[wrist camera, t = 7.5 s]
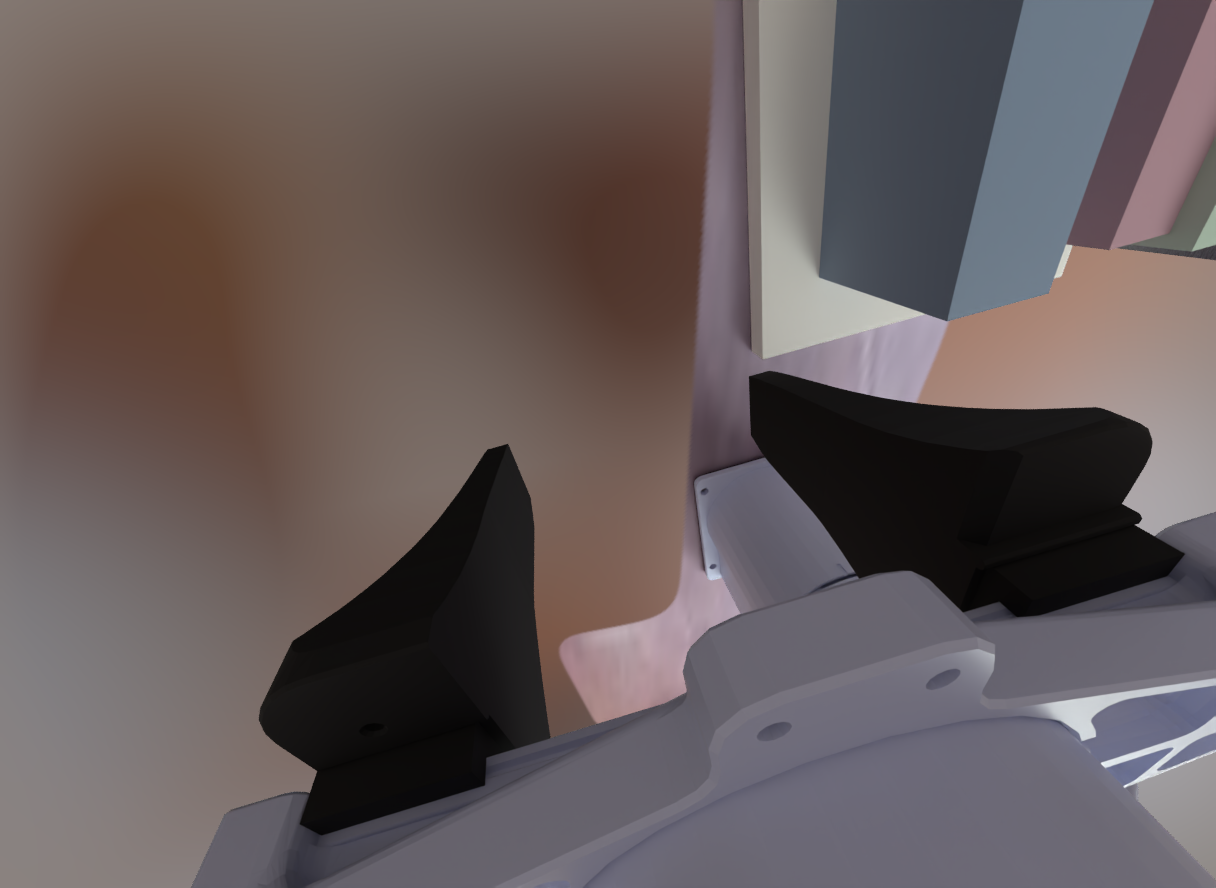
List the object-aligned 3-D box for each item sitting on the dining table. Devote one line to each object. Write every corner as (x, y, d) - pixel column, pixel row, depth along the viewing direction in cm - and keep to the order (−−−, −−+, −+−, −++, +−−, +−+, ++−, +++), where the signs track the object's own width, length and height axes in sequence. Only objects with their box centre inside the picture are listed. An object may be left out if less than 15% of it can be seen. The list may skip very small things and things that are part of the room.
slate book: (891, 258, 20) (1048, 293, 14) (818, 277, 20) (947, 321, 14) (938, -59, 14) (1234, -223, 8) (838, -35, 14) (1067, -184, 8)
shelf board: (1037, 271, 23) (1061, 276, 22) (751, 351, 22) (762, 359, 21) (1205, -233, 14) (1258, -264, 13) (739, -121, 13) (757, -145, 12)
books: (1061, 217, 20) (1257, 233, 15) (966, 243, 20) (1129, 268, 15) (1171, -105, 15) (1548, -267, 9) (1040, -72, 14) (1347, -218, 9)
